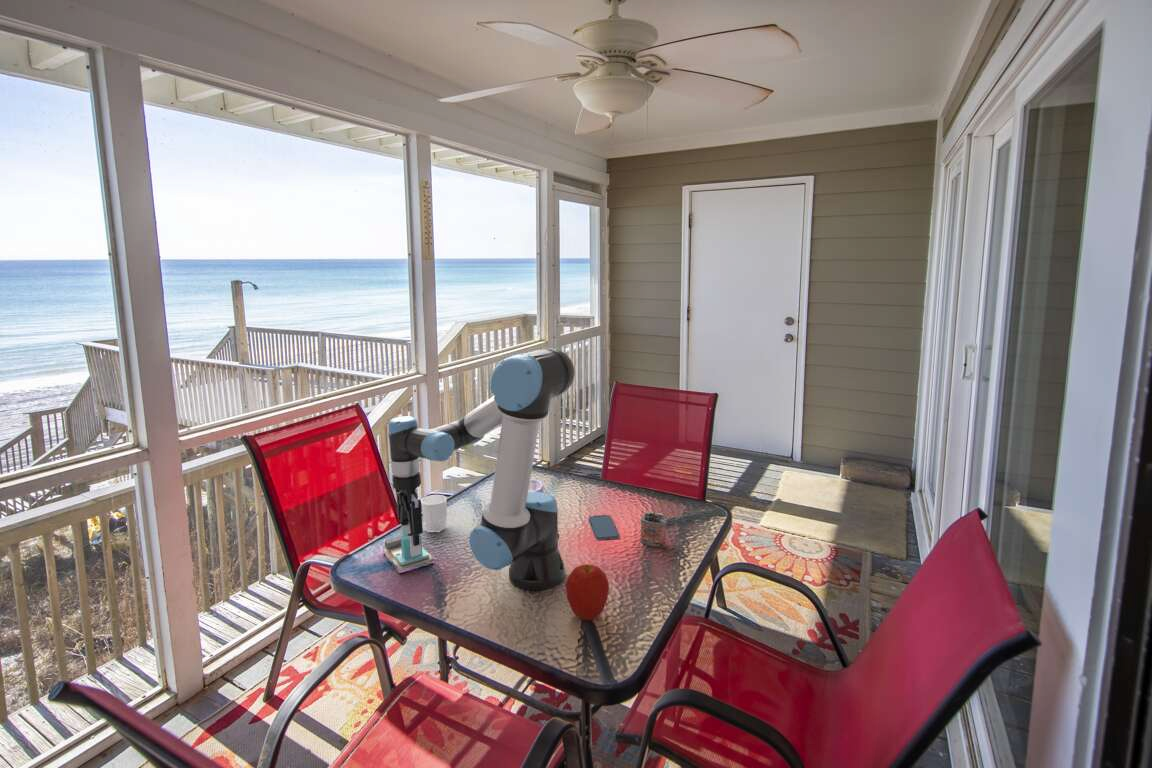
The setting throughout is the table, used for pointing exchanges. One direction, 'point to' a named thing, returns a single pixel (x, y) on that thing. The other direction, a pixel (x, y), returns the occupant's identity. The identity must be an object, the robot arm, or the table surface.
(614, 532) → the smartphone
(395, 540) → the ticket holder
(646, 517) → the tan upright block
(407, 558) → the teal upright sign stand
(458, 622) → the table surface
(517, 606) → the table surface
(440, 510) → the white cup
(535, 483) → the paper bowls
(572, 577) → the apple
